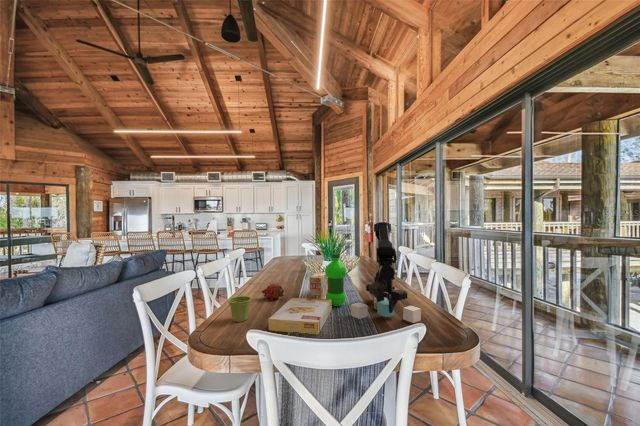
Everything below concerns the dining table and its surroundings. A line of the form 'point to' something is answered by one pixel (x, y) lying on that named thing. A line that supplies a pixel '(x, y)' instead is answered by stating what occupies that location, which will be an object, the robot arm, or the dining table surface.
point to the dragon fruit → (273, 291)
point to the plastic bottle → (335, 280)
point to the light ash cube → (376, 302)
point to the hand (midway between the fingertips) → (385, 311)
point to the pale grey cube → (359, 310)
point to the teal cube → (384, 308)
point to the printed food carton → (318, 286)
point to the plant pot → (239, 308)
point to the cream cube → (412, 314)
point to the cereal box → (301, 315)
